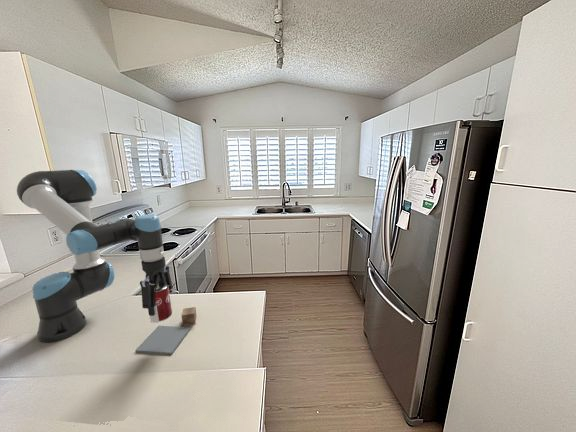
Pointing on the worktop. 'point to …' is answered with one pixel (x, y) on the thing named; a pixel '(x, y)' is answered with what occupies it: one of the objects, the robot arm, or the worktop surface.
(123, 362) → the worktop surface
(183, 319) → the walnut block
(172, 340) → the coaster
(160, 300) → the soda can
